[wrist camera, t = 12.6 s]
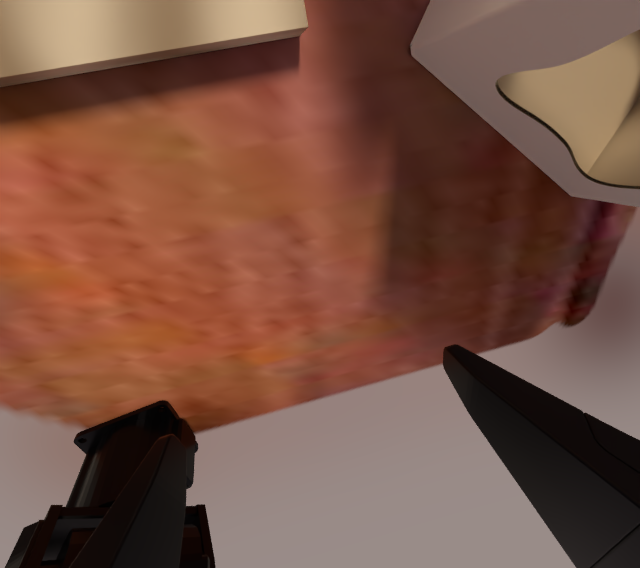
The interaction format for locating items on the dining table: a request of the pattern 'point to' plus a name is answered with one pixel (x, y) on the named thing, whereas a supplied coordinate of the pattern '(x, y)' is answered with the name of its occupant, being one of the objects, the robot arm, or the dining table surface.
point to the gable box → (548, 83)
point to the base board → (131, 32)
